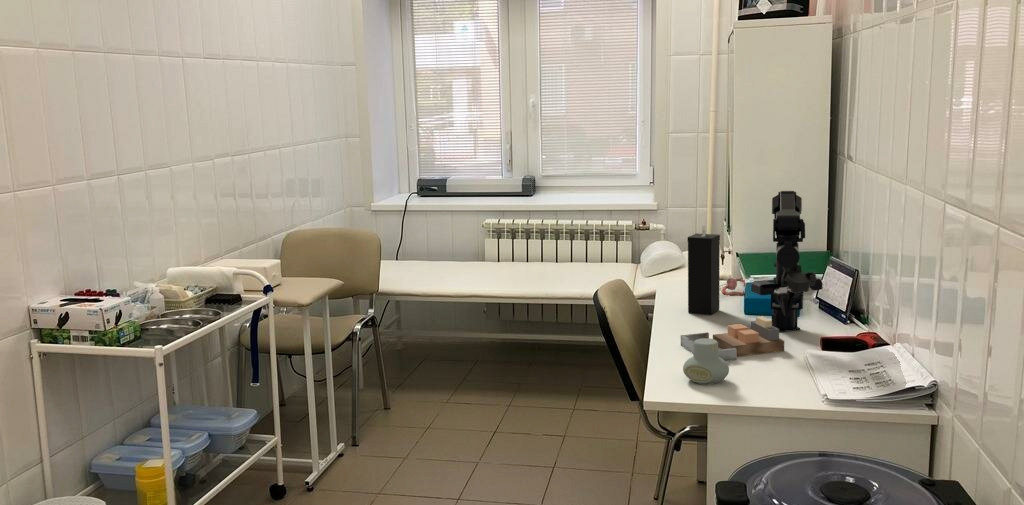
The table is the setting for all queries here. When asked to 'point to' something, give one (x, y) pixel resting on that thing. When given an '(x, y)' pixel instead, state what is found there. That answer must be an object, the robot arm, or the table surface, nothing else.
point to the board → (748, 345)
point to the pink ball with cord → (732, 286)
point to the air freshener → (705, 363)
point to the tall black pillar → (703, 273)
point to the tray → (689, 339)
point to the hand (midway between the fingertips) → (786, 315)
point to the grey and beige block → (765, 328)
